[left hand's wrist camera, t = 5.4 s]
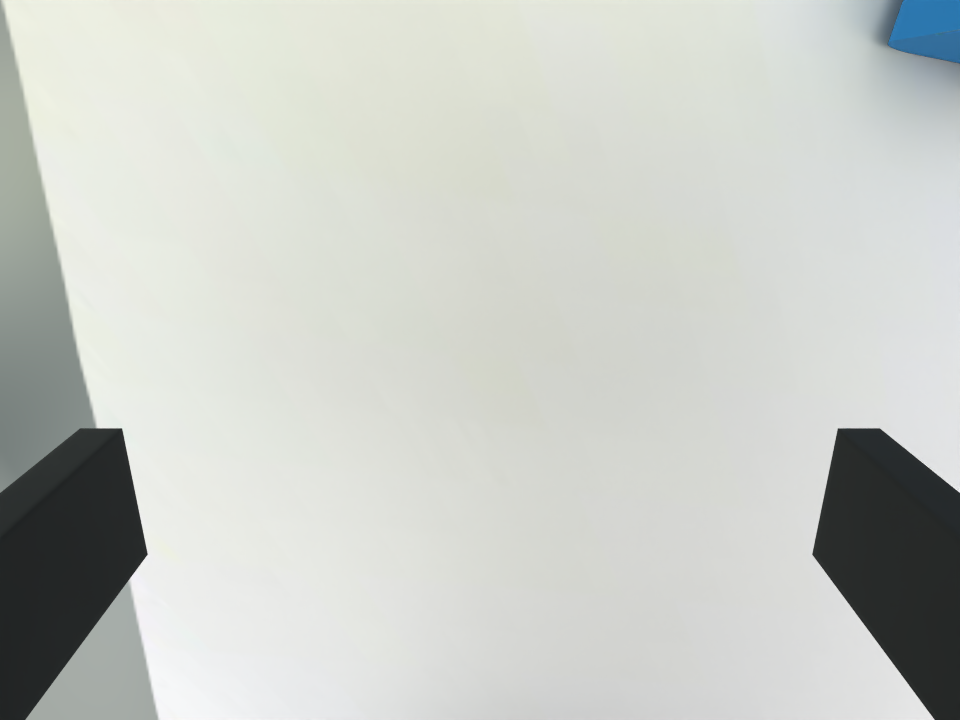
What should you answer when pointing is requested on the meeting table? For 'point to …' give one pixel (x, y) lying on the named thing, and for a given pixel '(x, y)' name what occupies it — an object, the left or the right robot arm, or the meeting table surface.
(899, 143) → the meeting table surface
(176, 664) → the meeting table surface
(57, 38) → the meeting table surface
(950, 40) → the logo
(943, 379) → the meeting table surface
